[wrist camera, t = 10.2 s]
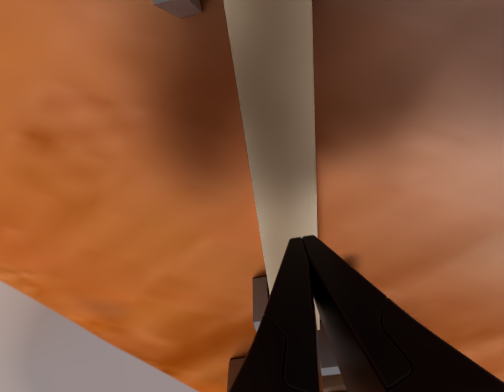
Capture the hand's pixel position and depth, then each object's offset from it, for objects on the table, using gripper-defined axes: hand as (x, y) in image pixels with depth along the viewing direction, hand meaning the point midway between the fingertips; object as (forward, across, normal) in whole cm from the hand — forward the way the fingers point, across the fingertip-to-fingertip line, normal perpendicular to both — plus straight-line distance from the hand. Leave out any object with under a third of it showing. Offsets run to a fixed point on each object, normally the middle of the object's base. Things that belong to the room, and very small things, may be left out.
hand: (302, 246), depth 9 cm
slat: (+7, 0, 0) cm, 7 cm away
